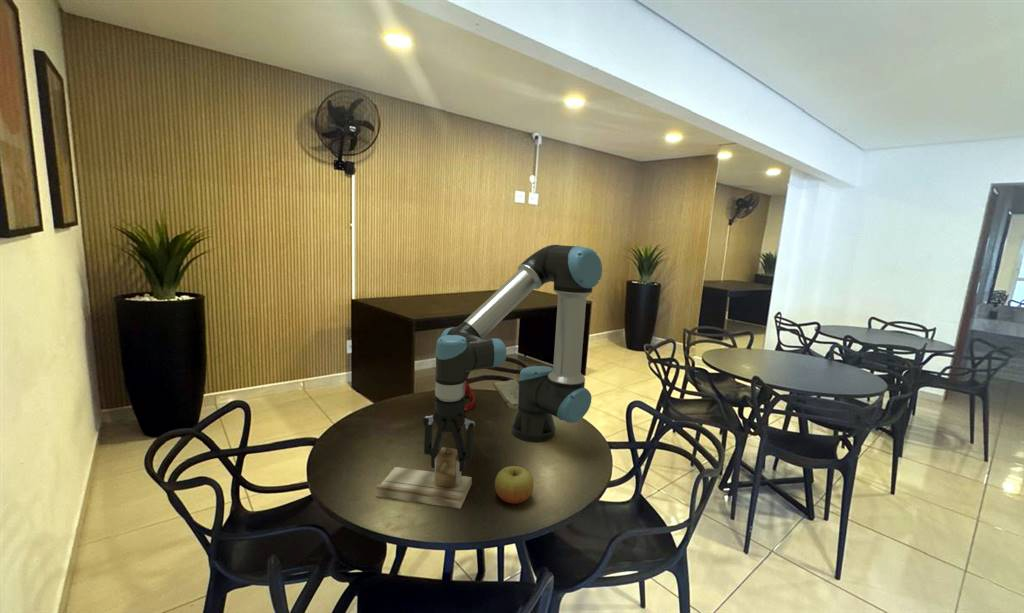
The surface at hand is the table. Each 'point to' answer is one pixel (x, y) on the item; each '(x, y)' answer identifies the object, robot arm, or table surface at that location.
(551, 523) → the table surface
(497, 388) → the stone slab
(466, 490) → the board
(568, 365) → the robot arm
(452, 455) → the beige wooden block
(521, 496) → the apple
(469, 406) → the headphones
